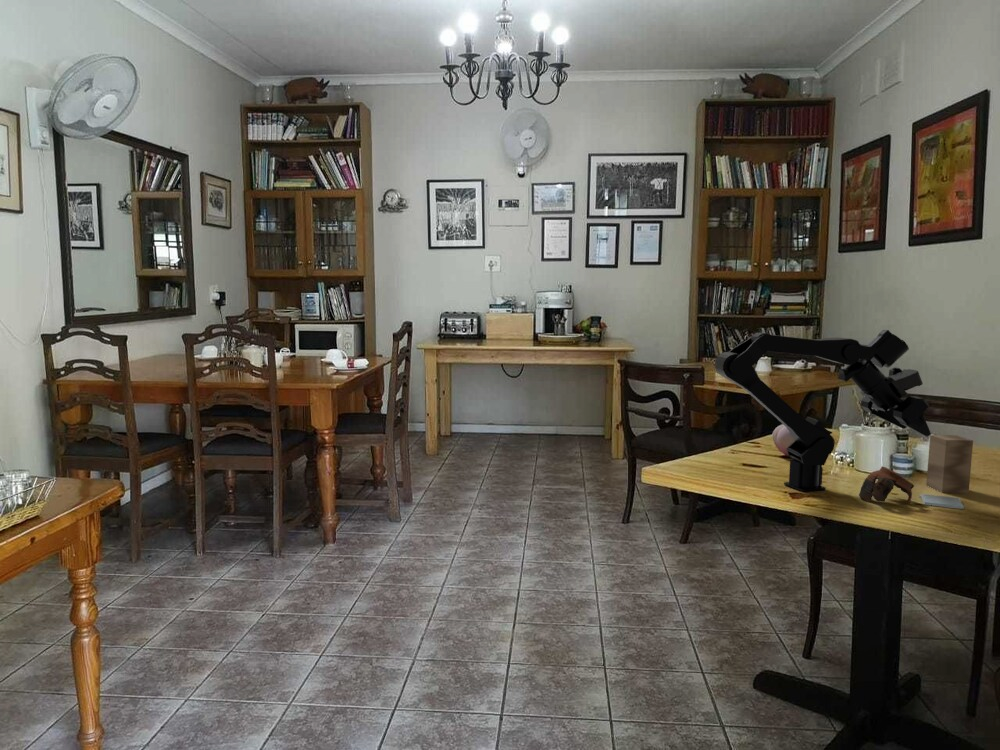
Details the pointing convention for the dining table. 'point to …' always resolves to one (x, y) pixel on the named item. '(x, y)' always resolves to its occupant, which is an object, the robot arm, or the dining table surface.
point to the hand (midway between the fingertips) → (916, 431)
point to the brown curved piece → (884, 485)
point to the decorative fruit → (782, 438)
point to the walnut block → (949, 463)
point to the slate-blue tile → (941, 501)
